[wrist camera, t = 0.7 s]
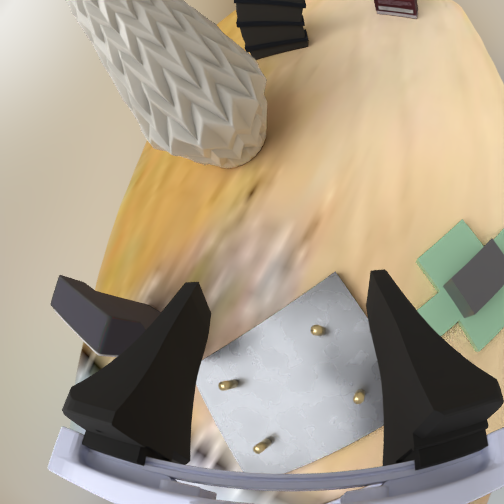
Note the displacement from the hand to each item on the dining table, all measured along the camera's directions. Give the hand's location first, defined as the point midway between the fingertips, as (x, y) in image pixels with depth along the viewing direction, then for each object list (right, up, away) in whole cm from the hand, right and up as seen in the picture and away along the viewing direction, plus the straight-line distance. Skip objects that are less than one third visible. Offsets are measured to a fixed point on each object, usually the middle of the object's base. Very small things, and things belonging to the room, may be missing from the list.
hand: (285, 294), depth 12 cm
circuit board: (+21, -2, +11) cm, 24 cm away
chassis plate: (+3, -12, +16) cm, 20 cm away
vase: (-4, +18, +29) cm, 34 cm away
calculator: (-12, -8, +24) cm, 28 cm away
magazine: (+5, +39, +33) cm, 51 cm away
